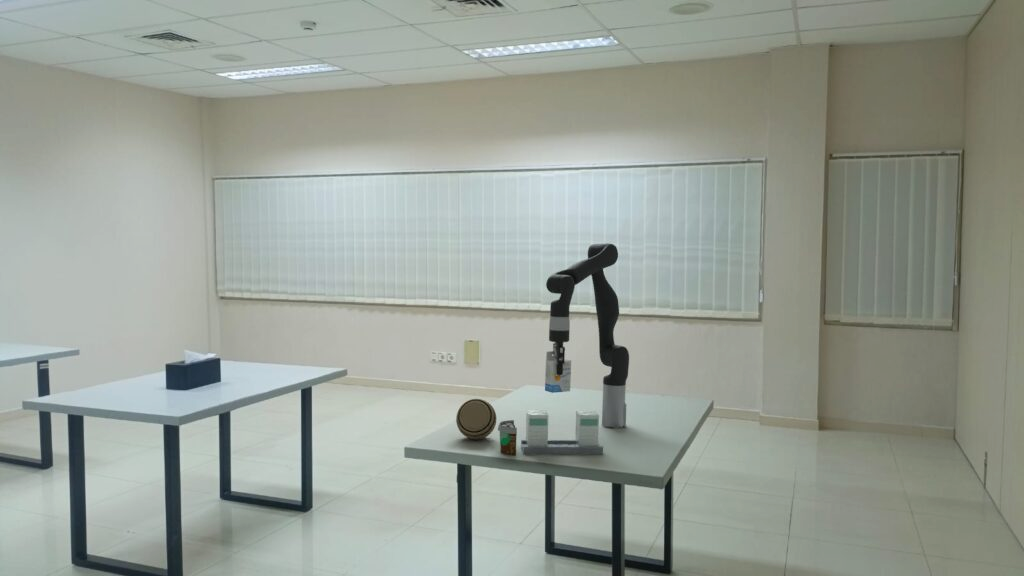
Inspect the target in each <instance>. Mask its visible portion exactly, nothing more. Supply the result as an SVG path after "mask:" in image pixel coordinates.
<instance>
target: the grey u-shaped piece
mask: <svg viewBox="0 0 1024 576" xmlns="http://www.w3.org/2000/svg"><path fill="white" fill-rule="evenodd" d="M525 413H526V414H525V415H526V416H525V418H526V421H525V422H526V423H525V439H521V440H520V441H521V442H520V447H521V451H522V453H523V455H604V446H603V445H602V446H601V445H600V444H599V435H600V434H599V430H600V429H599V428H600V425H599V423H600V415H599V413H598V412H597V411H596V410H576V411H575V437H574V438H575V439H548V437H549V414H548V412H547V410H526V412H525Z"/></svg>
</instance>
